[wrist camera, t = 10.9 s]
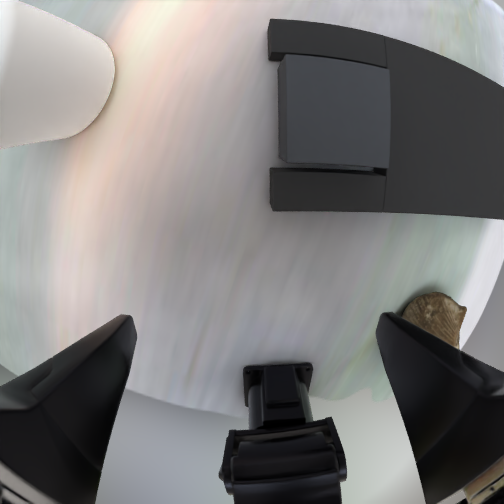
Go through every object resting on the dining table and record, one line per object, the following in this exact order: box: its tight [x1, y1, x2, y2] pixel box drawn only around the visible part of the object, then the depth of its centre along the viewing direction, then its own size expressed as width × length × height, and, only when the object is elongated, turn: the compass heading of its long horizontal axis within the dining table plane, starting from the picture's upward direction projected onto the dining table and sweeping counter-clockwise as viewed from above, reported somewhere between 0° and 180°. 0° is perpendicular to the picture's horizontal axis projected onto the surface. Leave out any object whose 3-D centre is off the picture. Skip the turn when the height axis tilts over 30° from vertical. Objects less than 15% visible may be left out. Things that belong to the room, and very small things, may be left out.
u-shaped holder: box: [268, 19, 504, 220], centre depth 15 cm, size 12×22×2 cm, turn 91°
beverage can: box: [0, 0, 115, 150], centre depth 8 cm, size 8×8×12 cm
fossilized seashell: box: [402, 292, 467, 349], centre depth 21 cm, size 8×7×10 cm
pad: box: [278, 54, 391, 169], centre depth 14 cm, size 6×6×4 cm
